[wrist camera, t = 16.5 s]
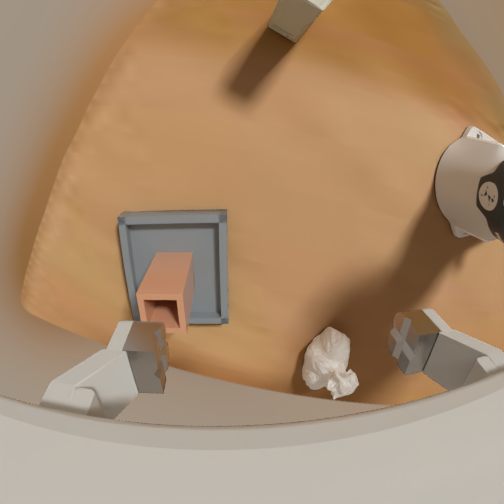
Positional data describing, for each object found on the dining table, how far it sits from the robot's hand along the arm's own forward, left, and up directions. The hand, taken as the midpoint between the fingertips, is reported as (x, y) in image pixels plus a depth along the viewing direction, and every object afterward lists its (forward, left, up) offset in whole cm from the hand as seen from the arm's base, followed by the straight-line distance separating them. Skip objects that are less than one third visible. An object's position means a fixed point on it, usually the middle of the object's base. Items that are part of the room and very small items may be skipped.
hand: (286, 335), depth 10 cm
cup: (+9, +12, -30) cm, 34 cm away
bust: (-14, +28, -31) cm, 44 cm away
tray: (+9, +12, -31) cm, 35 cm away
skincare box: (-6, -22, -31) cm, 39 cm away
